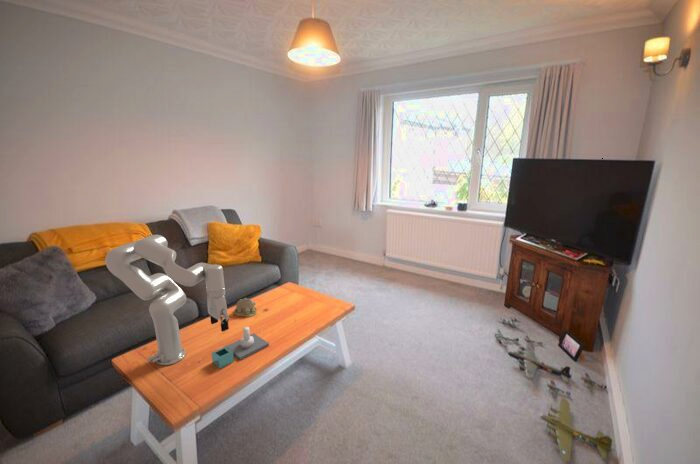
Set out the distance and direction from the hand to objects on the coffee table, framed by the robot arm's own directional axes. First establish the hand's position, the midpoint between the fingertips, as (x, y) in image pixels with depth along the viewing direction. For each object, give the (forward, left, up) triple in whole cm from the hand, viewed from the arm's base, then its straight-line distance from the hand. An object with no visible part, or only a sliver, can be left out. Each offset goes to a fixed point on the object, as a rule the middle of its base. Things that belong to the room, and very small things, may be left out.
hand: (219, 326), depth 145 cm
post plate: (+14, +2, -18) cm, 23 cm away
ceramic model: (+33, +35, -19) cm, 52 cm away
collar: (0, 0, -18) cm, 18 cm away
